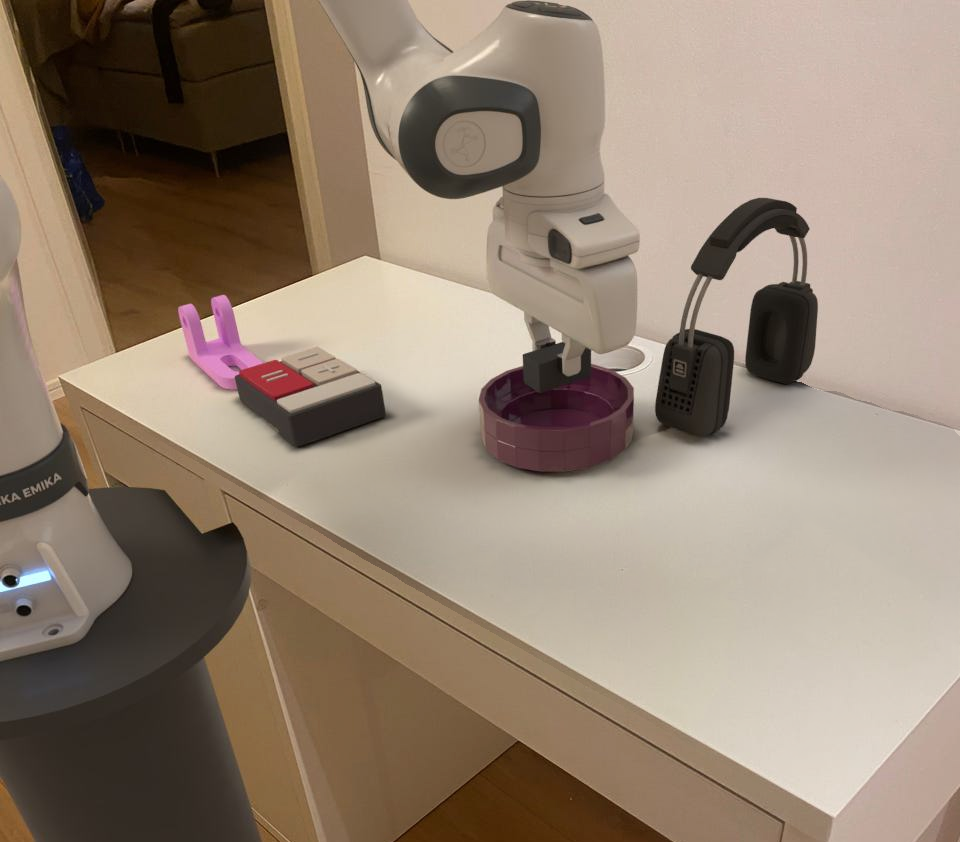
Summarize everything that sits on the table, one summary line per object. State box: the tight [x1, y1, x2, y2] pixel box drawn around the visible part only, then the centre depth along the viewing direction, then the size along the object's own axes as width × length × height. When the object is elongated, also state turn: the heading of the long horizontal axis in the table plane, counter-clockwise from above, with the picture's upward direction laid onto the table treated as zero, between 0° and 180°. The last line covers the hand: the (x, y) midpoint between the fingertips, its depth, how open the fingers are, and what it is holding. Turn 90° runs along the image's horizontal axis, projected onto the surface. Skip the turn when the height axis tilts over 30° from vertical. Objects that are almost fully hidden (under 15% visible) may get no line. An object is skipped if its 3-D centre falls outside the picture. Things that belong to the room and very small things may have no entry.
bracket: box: [177, 294, 264, 391], centre depth 117 cm, size 13×6×7 cm, turn 33°
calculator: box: [235, 346, 387, 448], centre depth 109 cm, size 11×4×15 cm
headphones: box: [654, 197, 819, 438], centre depth 99 cm, size 22×6×20 cm, turn 135°
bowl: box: [478, 363, 635, 472], centre depth 99 cm, size 15×15×5 cm
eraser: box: [522, 341, 592, 393], centre depth 96 cm, size 6×3×3 cm, turn 120°
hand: (556, 365), depth 96 cm, fingers closed on eraser, 3 cm apart
